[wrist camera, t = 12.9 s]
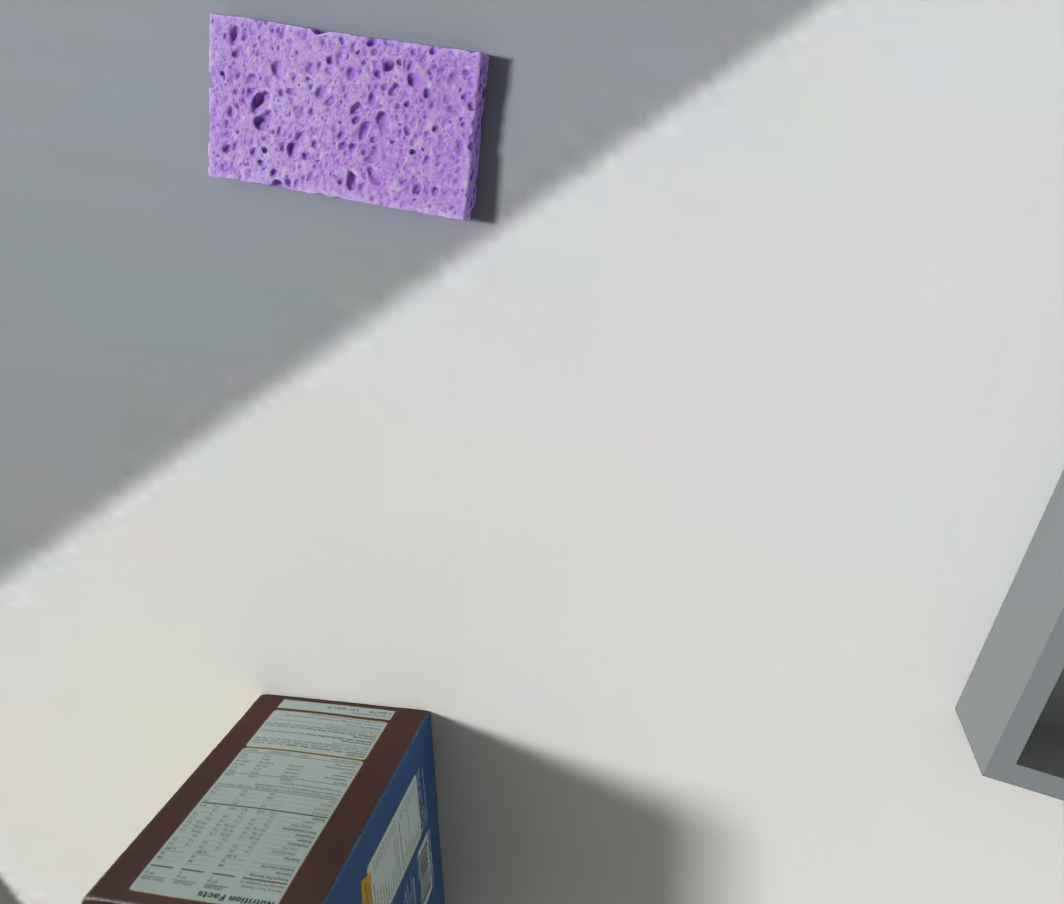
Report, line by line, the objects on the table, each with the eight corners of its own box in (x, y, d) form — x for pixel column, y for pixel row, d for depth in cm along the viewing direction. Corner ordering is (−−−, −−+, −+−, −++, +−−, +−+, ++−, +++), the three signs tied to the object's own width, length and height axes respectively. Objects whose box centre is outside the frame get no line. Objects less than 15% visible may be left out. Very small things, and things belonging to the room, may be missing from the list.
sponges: (231, 16, 40) (208, 9, 39) (496, 55, 39) (485, 50, 37) (226, 176, 43) (204, 176, 41) (476, 220, 41) (464, 223, 39)
